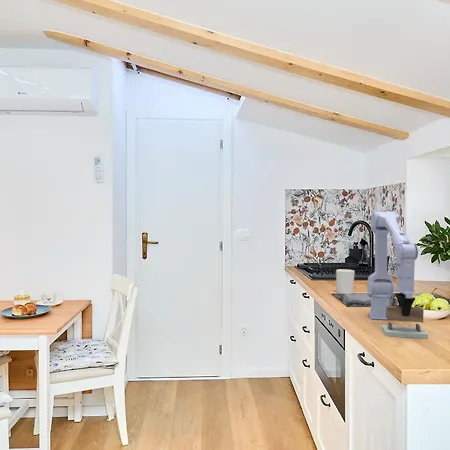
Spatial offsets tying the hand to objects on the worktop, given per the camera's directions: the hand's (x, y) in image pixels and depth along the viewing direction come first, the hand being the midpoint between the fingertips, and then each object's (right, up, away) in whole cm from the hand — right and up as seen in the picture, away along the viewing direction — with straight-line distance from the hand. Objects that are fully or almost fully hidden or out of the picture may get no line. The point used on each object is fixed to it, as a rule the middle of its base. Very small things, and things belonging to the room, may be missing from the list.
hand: (404, 314), depth 173 cm
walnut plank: (0, -2, 0) cm, 2 cm away
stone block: (0, -5, +59) cm, 59 cm away
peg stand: (0, -7, 0) cm, 7 cm away
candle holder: (0, -4, +85) cm, 85 cm away
